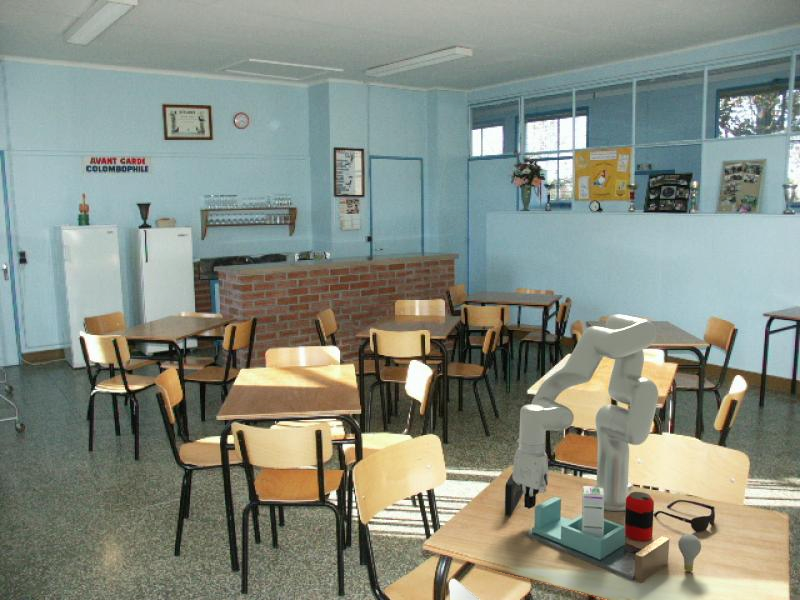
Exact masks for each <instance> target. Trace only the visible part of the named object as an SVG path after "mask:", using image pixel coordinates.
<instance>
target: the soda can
mask: <svg viewBox="0 0 800 600" xmlns="http://www.w3.org/2000/svg"><path fill="white" fill-rule="evenodd" d="M654 507H655V502H654V499H653V498H652V497H651V495H650V494H648V493H646V492H643V491H632V492H631V493H630V492H629V494H628V497H627V498H626V510H624V511H625V513H624V526H625V537H626V538H628V539H630V540H633V541H634V542H648V541H650V540H651V539H652V538H653V531H654V529H653V528H654V513H655V512H654Z"/></svg>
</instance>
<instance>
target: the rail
mask: <svg viewBox="0 0 800 600" xmlns="http://www.w3.org/2000/svg"><path fill="white" fill-rule="evenodd" d="M525 536H526V537H527V538H530V539H532V540H535V541H536V542H537V541H538V542H539V543H542V544H545V545H547V546H550V547H551V548H554V549H557V550H559V551H562V552H564V553H566V554H567V555H568V554H569V555H571V556H572V557H574V558H578V559H580V560H582V561H585V562H588V563H590V564H592V565H595V566H597V567H599V568H602V569H604V570H607V571H609V572H612V573H613V574H616V575H619V576H621V577H622V578H625V577H626V579H628V580H630V581H632V580H633V581H634V582H638V583H640V584H642V583H643V582H645V581H646V580H648V578H651V577H652V576H653V575H654V574H656V573H657V572H659V571H660V570H661V569H663V568H664V567H665V565H666V566H667V565H668V564H669V553H670V551H669V550H670V538H668V537H665V536H663V535H661V537H659V538H657V539H656V540H653V542H651V543H650V544H648V545H646V546H645V547H644V548H640V547H637V546H635V545H632V544H629V543H627V542H625V544H624V545H623V546H621V547H620V548H618V549H617V550H615V551H613V552H612V553H610V554H609V555H607V556H605V557H604V558H602V559H601V560H599V559H597V558H595V557H592V556H590V555H587V554H585V553H582V552H580V551H578V550H575V549H573V548H570V547H568V546H565V545H563V544H561V543H558V542H556V541H553V540H551V539H548V538H546V537H544V536H541V535H539V534H536V533H534V532H532V529H531V530H528V531H526V532H525Z"/></svg>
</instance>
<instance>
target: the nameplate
mask: <svg viewBox="0 0 800 600" xmlns="http://www.w3.org/2000/svg"><path fill="white" fill-rule="evenodd" d="M512 475H513V471H512V473H511V474H510V476H509V478H508V480H507V481H506V482H505V487H504V489H505V490H504V499H505V500H504V514H506V516H513V513H514V511H515V509H516V508H517V505H518V503H519V501H520V499H521V497H522V495H524V494H523V491H522V488H521V487H520V486H519V485H518V484H516V483H515V481H514V480H513V477H512Z"/></svg>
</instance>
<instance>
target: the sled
mask: <svg viewBox="0 0 800 600" xmlns="http://www.w3.org/2000/svg"><path fill="white" fill-rule="evenodd" d="M531 530H532V532H534V533H536V534H539V535H541V536H544V537H546V538H548V539H551V540H553V541H556V542H558V543H561V544H563V545H565V546H568V547H570V548H573V549H575V550H578V551H580V552H582V553H585V554H587V555H590V556H592V557H595V558H597V559H599V560H601V559H602V558H604V557H605V556H607V555H609V554H610V553H612V552H613V551H615V550H617V549H618V548H620V547H621V546H623V545H624V544H625V543H626V535H625V525H622V524H619V523H617V522H614V521H611V520H608V519H605V518H604V535H603V536H602V537H601V538H597V537H595V536H592V535H590V534H587V533H585V532H582V514H580V515H578V516H577V517H574V518H573V519H570V518H566V517H564V516H562V498H561V497H557V496H554V497H552V498H550V499H548V500H546V501H544V502H541V503H539V504H538V505H535V506H534V526H533V527H531Z"/></svg>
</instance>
